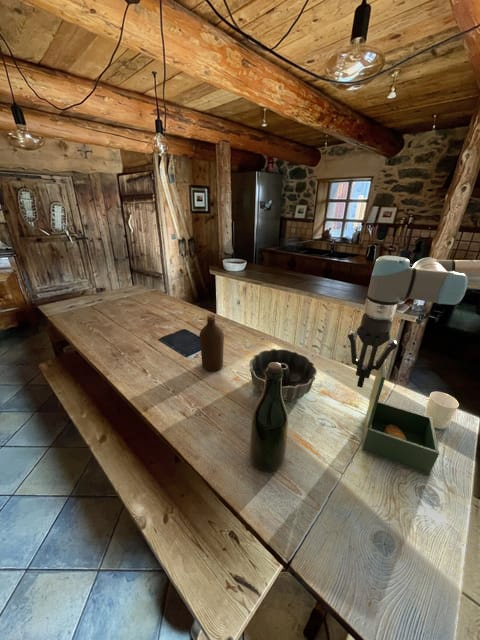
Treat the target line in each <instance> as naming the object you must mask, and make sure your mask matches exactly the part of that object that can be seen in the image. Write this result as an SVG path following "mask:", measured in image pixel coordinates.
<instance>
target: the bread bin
mask: <svg viewBox="0 0 480 640" xmlns="http://www.w3.org/2000/svg"><path fill="white" fill-rule="evenodd" d="M368 411H369V406H367V410H366V413H365V416H364V424H363V436H362V445H361V451H363V452H366V453H369V454H370V455H371V454H372V455H374V456H377V457H379V458H382V459H384V460H388V461H390V462H392V463H395V464H398V465H401V466H403V467H406V468H409V469H411V470H413V471H417V472H419V473H422V474H425V475H426V476H427V475H428V476H430V474H431V472H432V471H433V468H434V466H435V464H436V462H437V460H438V458H439V456H440V451H439V450H440V449H439V445H438V440H437V435H436V431H435V428H434V425H433V420H432V417H429V416H426V415H424V413H422V414H421V413H419V412H416V411H412V410H410V409H406V408H403V407H398V406H396V405H392V404H389V403H385V402H382V401H379V400H378V404H377V407H376V410H375V414H374V417H373V420H372V423H371V427H370V429H369V428H367V422H368ZM389 424H392V425H394V426H397V427H399V429H401V431H402V433H403V434H404V435H405V437H406V439H407V441H406V440H403V439H400V438H397V437H394V436H391V435H388V434H385V433H384V429H385V427H386V426H387V425H389Z"/></svg>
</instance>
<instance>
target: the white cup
mask: <svg viewBox="0 0 480 640" xmlns="http://www.w3.org/2000/svg"><path fill="white" fill-rule="evenodd" d="M459 406H460V403H459V402H458V400H457V398H455V397H454V396H452V395H450V394H448V393H445V392H442V391H432V392H430V393H429V397H428V400H427V403H426V406H425V410H424V413H423V415H426V416H429V417H432V420H433V425H434V429H439V430H445V429H446V427H447V426H448V424H449V423H450V421H451V420H452V419H453V416H455V413H456V412H457V410H458V409H459Z"/></svg>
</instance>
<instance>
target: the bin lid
mask: <svg viewBox="0 0 480 640" xmlns="http://www.w3.org/2000/svg"><path fill="white" fill-rule="evenodd" d="M386 361H387V359H386V360H385V361H384V363H383V364H382V366H381V367H380V369H379V370H376V374H375V377H374V381H373V384H372V388H371V391H370V394H369V402H368V407H369V411H368V422H367V428H369V429H370V427H371V423H372V420H373V417H374V414H375V410H376V407H377V404H378V401H379V400H380V397H381V394H382V390H383V387H384V383H385V380H386Z"/></svg>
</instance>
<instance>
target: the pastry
mask: <svg viewBox="0 0 480 640" xmlns="http://www.w3.org/2000/svg"><path fill="white" fill-rule="evenodd" d="M384 433H385V434H388V435H391V436H394V437H397V438H400V439H403V440H406V441H407V439H406V437H405V435H404V434H403V433H402V431H401V429H399V427H397V426H394V425H392V424H389V425H387V426H386V427H385V429H384Z"/></svg>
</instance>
